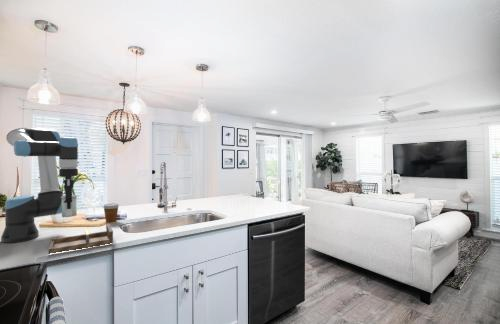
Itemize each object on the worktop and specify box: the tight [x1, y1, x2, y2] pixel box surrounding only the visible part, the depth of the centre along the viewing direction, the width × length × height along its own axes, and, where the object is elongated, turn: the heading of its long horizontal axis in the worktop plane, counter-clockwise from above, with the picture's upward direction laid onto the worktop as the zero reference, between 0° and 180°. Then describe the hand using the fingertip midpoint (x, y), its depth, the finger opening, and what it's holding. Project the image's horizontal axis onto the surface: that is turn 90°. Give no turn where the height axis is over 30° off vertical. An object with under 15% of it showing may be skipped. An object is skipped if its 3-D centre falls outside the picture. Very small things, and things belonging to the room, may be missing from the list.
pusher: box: [84, 227, 90, 242], centre depth 127 cm, size 1×14×6 cm, turn 35°
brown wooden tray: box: [47, 223, 114, 255], centre depth 126 cm, size 26×17×7 cm, turn 125°
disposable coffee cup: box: [103, 202, 119, 224], centre depth 170 cm, size 10×10×12 cm
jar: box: [61, 194, 78, 218], centre depth 123 cm, size 6×6×10 cm
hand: (69, 213), depth 123 cm, fingers closed on jar, 6 cm apart
